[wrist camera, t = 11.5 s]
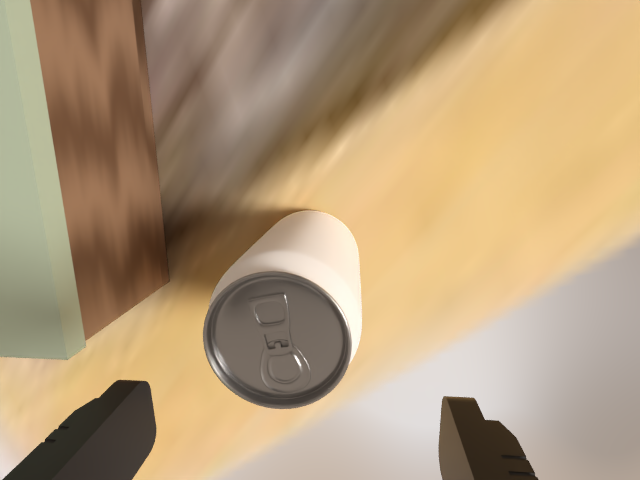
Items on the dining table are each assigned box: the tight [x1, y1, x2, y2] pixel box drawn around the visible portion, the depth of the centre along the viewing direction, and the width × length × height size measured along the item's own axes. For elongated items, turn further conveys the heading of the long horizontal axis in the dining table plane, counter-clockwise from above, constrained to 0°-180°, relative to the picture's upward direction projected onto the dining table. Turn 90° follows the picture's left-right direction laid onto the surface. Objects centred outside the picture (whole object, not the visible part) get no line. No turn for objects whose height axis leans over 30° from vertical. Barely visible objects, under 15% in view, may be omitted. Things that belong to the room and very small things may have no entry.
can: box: [203, 210, 362, 409], centre depth 20 cm, size 6×6×12 cm
